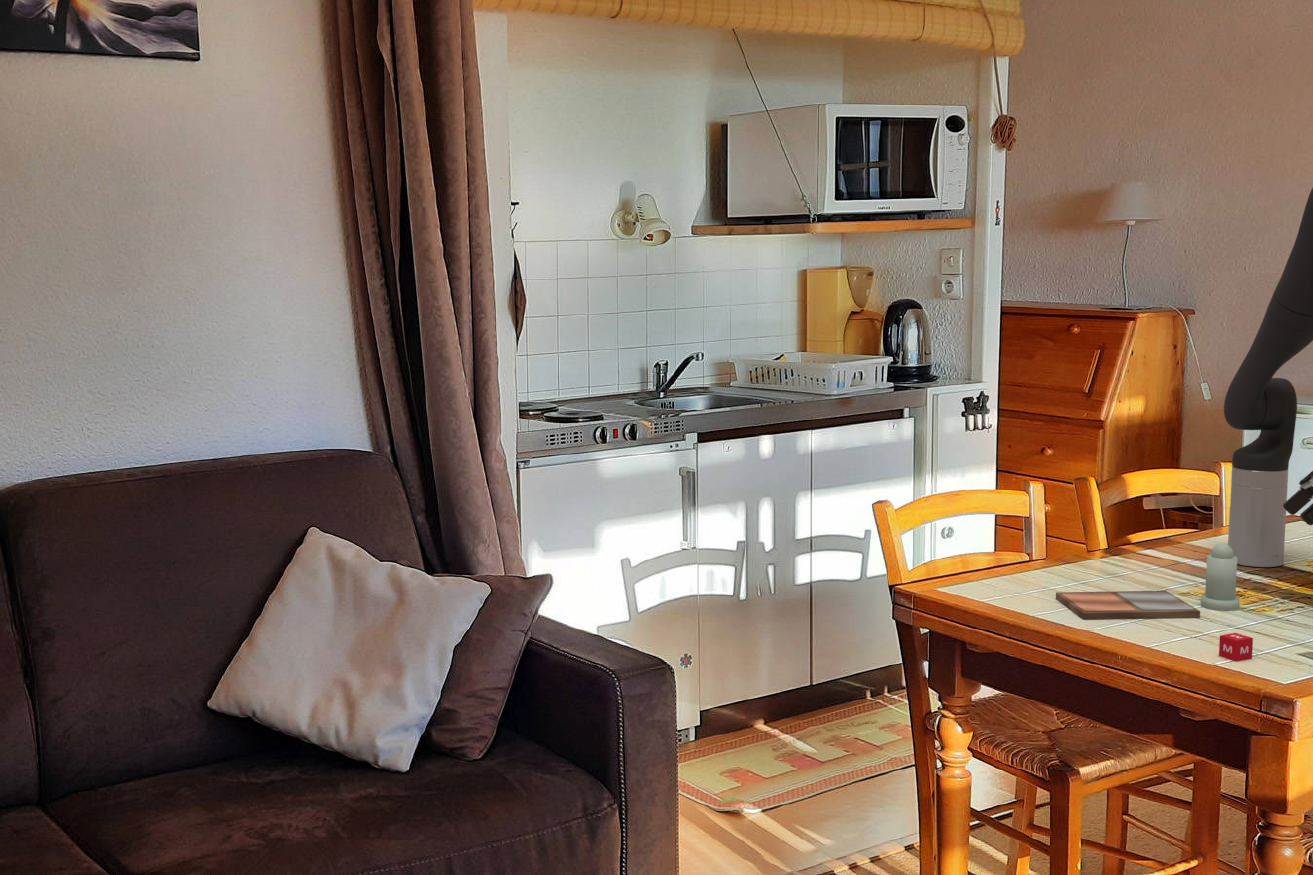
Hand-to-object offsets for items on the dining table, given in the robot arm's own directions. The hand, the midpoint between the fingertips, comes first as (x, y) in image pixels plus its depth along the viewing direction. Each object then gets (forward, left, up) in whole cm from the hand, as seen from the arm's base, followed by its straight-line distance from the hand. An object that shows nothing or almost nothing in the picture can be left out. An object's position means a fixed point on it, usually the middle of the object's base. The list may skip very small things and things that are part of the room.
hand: (1295, 515), depth 210 cm
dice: (+25, -20, -15) cm, 36 cm away
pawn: (-2, -10, -15) cm, 18 cm away
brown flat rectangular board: (-2, -25, -15) cm, 29 cm away
